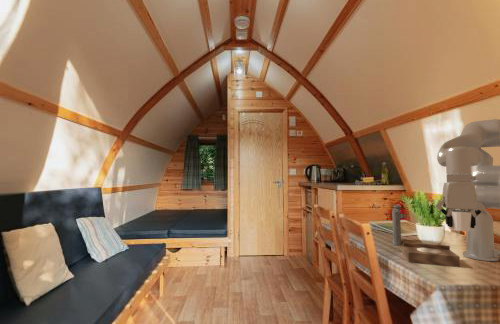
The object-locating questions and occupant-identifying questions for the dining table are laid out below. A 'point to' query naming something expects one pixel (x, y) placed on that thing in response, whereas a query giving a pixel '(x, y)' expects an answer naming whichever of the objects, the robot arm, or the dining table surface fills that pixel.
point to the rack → (430, 254)
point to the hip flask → (396, 225)
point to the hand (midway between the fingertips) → (460, 226)
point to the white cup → (461, 220)
